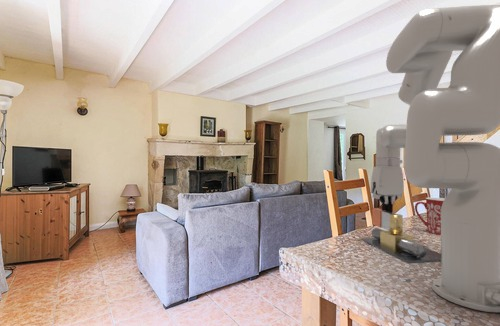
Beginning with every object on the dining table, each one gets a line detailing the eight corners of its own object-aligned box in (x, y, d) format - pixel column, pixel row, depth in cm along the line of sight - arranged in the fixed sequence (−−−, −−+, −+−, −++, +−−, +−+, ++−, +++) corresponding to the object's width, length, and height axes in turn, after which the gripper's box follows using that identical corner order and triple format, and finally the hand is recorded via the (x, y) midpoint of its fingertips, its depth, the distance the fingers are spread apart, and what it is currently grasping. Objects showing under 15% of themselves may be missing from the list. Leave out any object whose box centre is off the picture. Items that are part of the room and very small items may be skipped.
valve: (452, 260, 74) (452, 242, 74) (407, 263, 72) (407, 244, 72) (396, 238, 95) (396, 224, 96) (361, 240, 93) (361, 225, 93)
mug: (453, 232, 104) (453, 198, 104) (453, 237, 97) (453, 201, 97) (416, 227, 112) (416, 196, 112) (413, 231, 105) (413, 198, 105)
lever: (405, 234, 82) (405, 215, 82) (394, 234, 81) (394, 215, 81) (379, 224, 95) (379, 208, 95) (370, 224, 95) (370, 208, 95)
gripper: (399, 162, 97) (398, 212, 97) (362, 162, 95) (361, 213, 95) (415, 163, 89) (414, 216, 90) (374, 163, 87) (374, 218, 88)
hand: (387, 214), depth 93 cm, fingers closed
